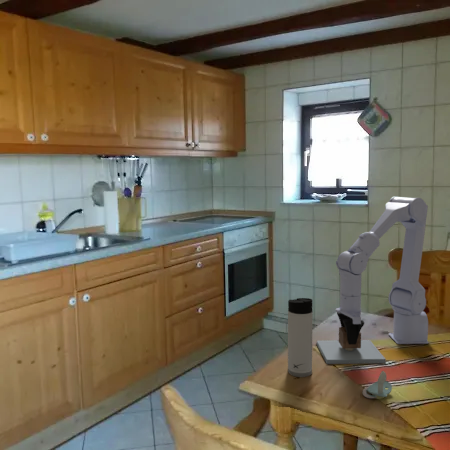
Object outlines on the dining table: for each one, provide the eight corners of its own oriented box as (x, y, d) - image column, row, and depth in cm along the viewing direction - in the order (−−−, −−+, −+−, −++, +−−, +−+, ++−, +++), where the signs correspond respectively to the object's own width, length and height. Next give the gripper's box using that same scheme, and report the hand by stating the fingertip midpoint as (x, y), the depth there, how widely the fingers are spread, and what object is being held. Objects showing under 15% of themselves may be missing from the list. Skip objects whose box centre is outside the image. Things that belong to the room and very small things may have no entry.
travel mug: (298, 380, 117) (298, 303, 114) (283, 370, 123) (283, 296, 120) (317, 374, 120) (318, 299, 117) (302, 365, 126) (302, 293, 123)
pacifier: (358, 398, 108) (383, 405, 104) (357, 372, 107) (383, 378, 104) (369, 386, 114) (394, 392, 110) (369, 361, 113) (394, 367, 110)
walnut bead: (355, 341, 135) (356, 327, 135) (360, 348, 130) (361, 333, 130) (338, 341, 135) (338, 327, 135) (343, 348, 130) (343, 333, 130)
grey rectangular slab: (369, 343, 140) (370, 326, 139) (385, 363, 126) (386, 344, 125) (316, 344, 140) (316, 327, 139) (326, 363, 126) (326, 345, 125)
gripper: (330, 287, 138) (329, 331, 140) (342, 301, 124) (341, 350, 125) (354, 287, 138) (353, 331, 140) (369, 301, 124) (367, 350, 125)
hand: (349, 340), depth 133 cm, fingers closed on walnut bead, 5 cm apart
